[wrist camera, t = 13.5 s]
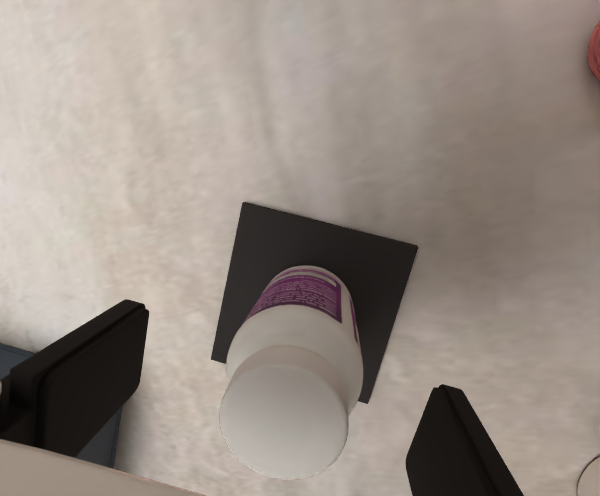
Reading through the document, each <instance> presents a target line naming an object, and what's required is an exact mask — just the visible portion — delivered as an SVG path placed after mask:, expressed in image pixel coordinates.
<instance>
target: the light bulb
mask: <svg viewBox="0 0 600 496" xmlns="http://www.w3.org/2000/svg"><path fill="white" fill-rule="evenodd" d="M588 61H589V65H590V68H591V70H592V71H593V73H594V75H595V76H596V77H597V78H598V79H599V80H600V21H599V23H598V24H597V26H596V27H595V29H594V31H593V33H592V36H591V38H590V41H589V46H588Z"/></svg>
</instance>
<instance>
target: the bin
mask: <svg viewBox="0 0 600 496" xmlns="http://www.w3.org/2000/svg"><path fill="white" fill-rule="evenodd" d="M34 354H35V353H32V352H28V351H25V350H21V349H18V348H14V347H11V346H8V345H4V344H1V343H0V379H2V378H4V377H5V376H7V375H8V374H10V369H11V368H13V367H15V366H16V365H18V364H19V363H21V362H23V361H24V360H26V359H28V358H29V357H31V356H33V355H34ZM121 411H122V407H121V408H120V409H119V410H118V411H117V412H116V413H115V414H114V415H113V417H112V418H111V419H110V420H109V421H108V422H107V423H106V424H105V425H104V426H103V428H102V429H101V430H100V431H99V432H98V433H97V434H96V435H95V436H94V437H93V439H92V440H91V441H90V442H89V443H88V444H87V445H86V446H85V447H84V448H83V450H82V451H81V452H80V453H79V454H78V455H77V456H76V457H75V458H76V459H80V460H84V461H87V462H91V463H94V464H98V465H101V466H105V467H108V468H112V469H113V466H114V459H115V452H116V445H117V438H118V432H119V425H120V418H121Z"/></svg>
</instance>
